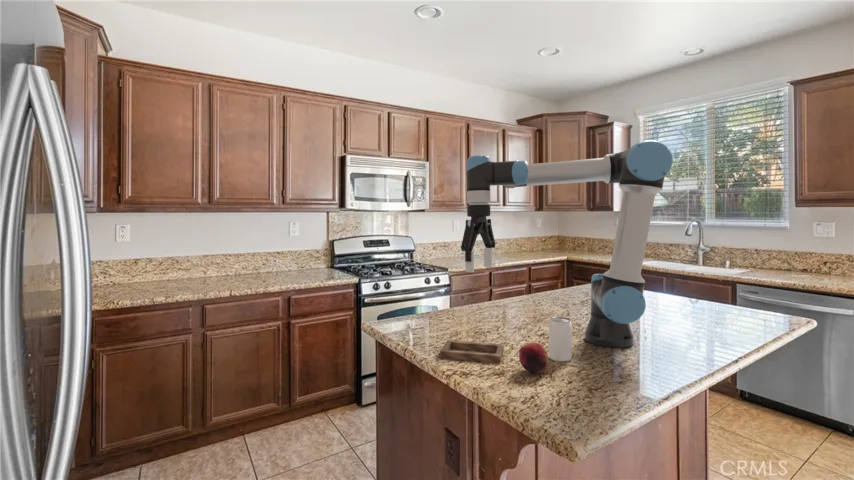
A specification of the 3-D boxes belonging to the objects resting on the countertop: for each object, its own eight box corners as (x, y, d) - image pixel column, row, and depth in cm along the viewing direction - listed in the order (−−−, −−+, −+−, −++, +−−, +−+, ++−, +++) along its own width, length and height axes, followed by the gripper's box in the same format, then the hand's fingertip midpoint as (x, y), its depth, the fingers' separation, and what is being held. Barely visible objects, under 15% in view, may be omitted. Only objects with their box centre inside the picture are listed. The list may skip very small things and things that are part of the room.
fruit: (547, 368, 115) (547, 340, 115) (549, 378, 108) (549, 349, 107) (519, 366, 117) (519, 338, 116) (518, 376, 109) (519, 347, 109)
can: (572, 363, 119) (573, 322, 118) (549, 361, 120) (550, 321, 119) (569, 355, 125) (570, 317, 124) (547, 354, 126) (548, 316, 126)
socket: (503, 350, 130) (503, 344, 130) (500, 362, 119) (500, 356, 119) (447, 346, 134) (447, 340, 134) (440, 357, 124) (440, 351, 124)
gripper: (484, 205, 145) (485, 264, 147) (449, 204, 125) (450, 273, 126) (504, 204, 141) (505, 265, 142) (471, 203, 120) (472, 275, 122)
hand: (479, 269), depth 134 cm, fingers open, 13 cm apart
